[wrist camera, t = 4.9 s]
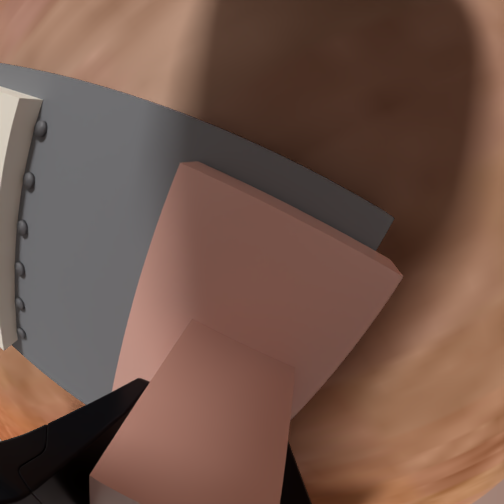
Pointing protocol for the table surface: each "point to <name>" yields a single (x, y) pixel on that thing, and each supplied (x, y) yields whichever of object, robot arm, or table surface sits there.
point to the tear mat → (125, 214)
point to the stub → (232, 341)
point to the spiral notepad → (14, 197)
